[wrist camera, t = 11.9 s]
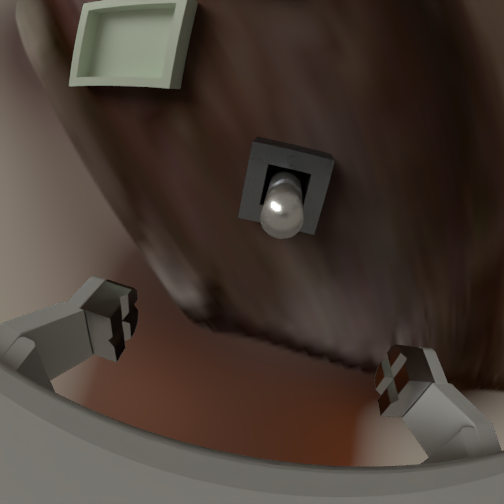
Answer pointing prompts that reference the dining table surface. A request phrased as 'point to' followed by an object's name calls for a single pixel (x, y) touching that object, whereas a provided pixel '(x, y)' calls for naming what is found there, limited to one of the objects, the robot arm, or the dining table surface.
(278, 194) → the pin
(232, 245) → the dining table surface
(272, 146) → the socket block
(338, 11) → the dining table surface
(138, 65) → the tray
